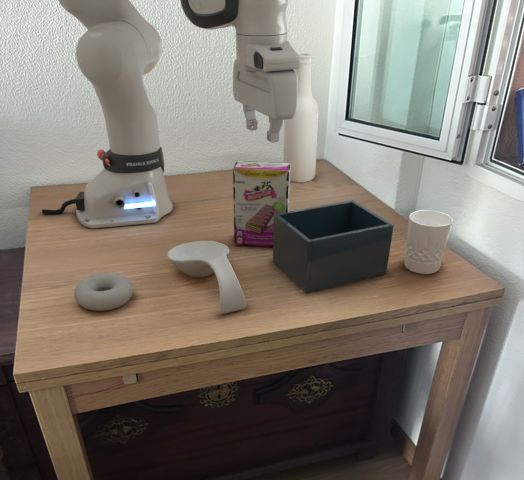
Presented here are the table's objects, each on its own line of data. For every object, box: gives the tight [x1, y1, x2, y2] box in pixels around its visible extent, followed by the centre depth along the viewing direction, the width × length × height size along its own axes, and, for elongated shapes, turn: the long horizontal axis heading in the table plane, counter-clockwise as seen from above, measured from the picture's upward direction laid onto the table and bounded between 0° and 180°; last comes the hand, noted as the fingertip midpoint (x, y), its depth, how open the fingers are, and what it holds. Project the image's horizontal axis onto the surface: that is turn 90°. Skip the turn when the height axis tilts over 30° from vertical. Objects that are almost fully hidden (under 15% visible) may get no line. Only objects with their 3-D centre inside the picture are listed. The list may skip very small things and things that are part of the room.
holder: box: [272, 200, 395, 294], centre depth 103 cm, size 18×14×10 cm
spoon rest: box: [166, 240, 247, 315], centre depth 99 cm, size 24×12×7 cm, turn 26°
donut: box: [74, 272, 134, 312], centre depth 95 cm, size 10×4×10 cm
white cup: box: [403, 209, 454, 275], centre depth 103 cm, size 8×8×10 cm
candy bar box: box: [232, 160, 291, 248], centre depth 110 cm, size 11×5×16 cm, turn 84°
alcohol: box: [282, 53, 320, 183], centre depth 140 cm, size 9×9×30 cm
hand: (262, 135), depth 102 cm, fingers open, 8 cm apart
